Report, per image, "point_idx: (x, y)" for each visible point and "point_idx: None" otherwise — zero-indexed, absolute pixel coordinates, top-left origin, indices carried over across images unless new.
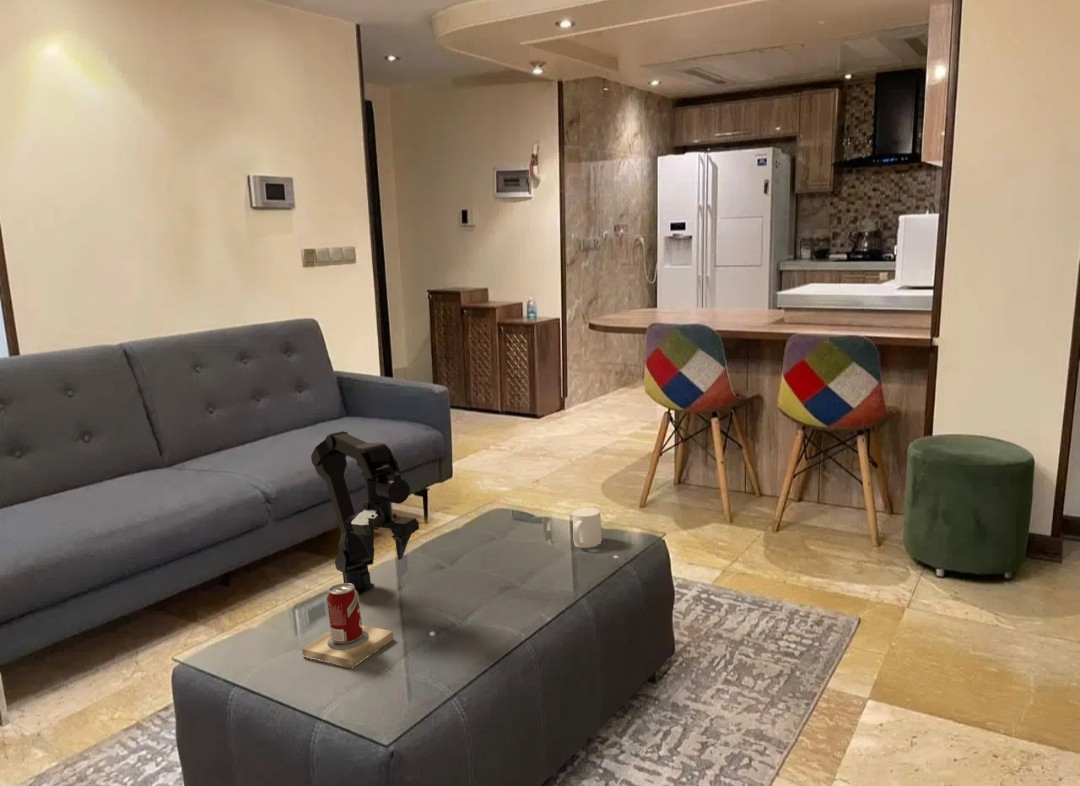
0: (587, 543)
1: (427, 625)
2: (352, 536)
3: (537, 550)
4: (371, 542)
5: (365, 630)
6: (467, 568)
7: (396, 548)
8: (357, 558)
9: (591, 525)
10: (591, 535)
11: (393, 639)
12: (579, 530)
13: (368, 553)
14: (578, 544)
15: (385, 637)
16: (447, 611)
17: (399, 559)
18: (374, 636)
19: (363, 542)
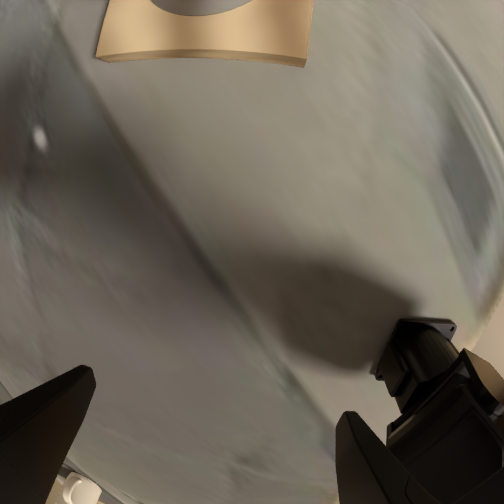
0: (70, 476)
1: (67, 172)
2: (482, 483)
3: (124, 483)
4: (348, 499)
5: (185, 24)
6: (185, 457)
7: (33, 410)
8: (437, 408)
9: (60, 493)
10: (64, 483)
11: (108, 61)
12: (72, 493)
13: (358, 421)
14: (80, 478)
15: (104, 25)
16: (69, 265)
17: (81, 365)
18: (134, 9)
19: (406, 484)
